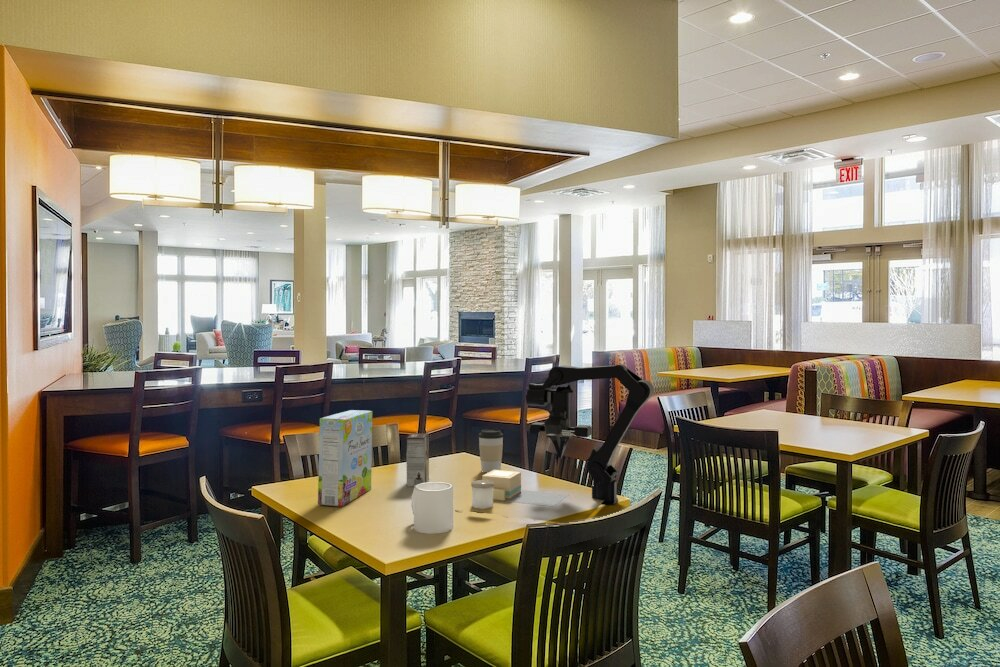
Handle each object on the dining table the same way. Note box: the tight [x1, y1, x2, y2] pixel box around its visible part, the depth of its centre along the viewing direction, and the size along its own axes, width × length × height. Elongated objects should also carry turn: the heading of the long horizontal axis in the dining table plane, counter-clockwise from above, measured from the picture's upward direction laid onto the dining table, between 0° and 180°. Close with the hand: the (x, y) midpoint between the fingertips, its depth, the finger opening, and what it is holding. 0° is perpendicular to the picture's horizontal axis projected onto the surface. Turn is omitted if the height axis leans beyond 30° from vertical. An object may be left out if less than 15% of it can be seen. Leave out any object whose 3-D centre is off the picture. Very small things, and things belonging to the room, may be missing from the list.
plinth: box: [493, 488, 569, 508], centre depth 197 cm, size 25×14×4 cm, turn 67°
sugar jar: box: [470, 479, 494, 514], centre depth 187 cm, size 6×6×8 cm
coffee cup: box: [477, 428, 504, 473], centre depth 236 cm, size 9×9×15 cm
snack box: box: [317, 409, 373, 508], centre depth 201 cm, size 22×9×26 cm, turn 168°
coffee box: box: [405, 432, 430, 487], centre depth 219 cm, size 9×6×16 cm
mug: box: [411, 481, 454, 535], centre depth 172 cm, size 14×10×11 cm
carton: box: [481, 469, 522, 499], centre depth 201 cm, size 9×9×6 cm
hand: (560, 457), depth 201 cm, fingers closed
